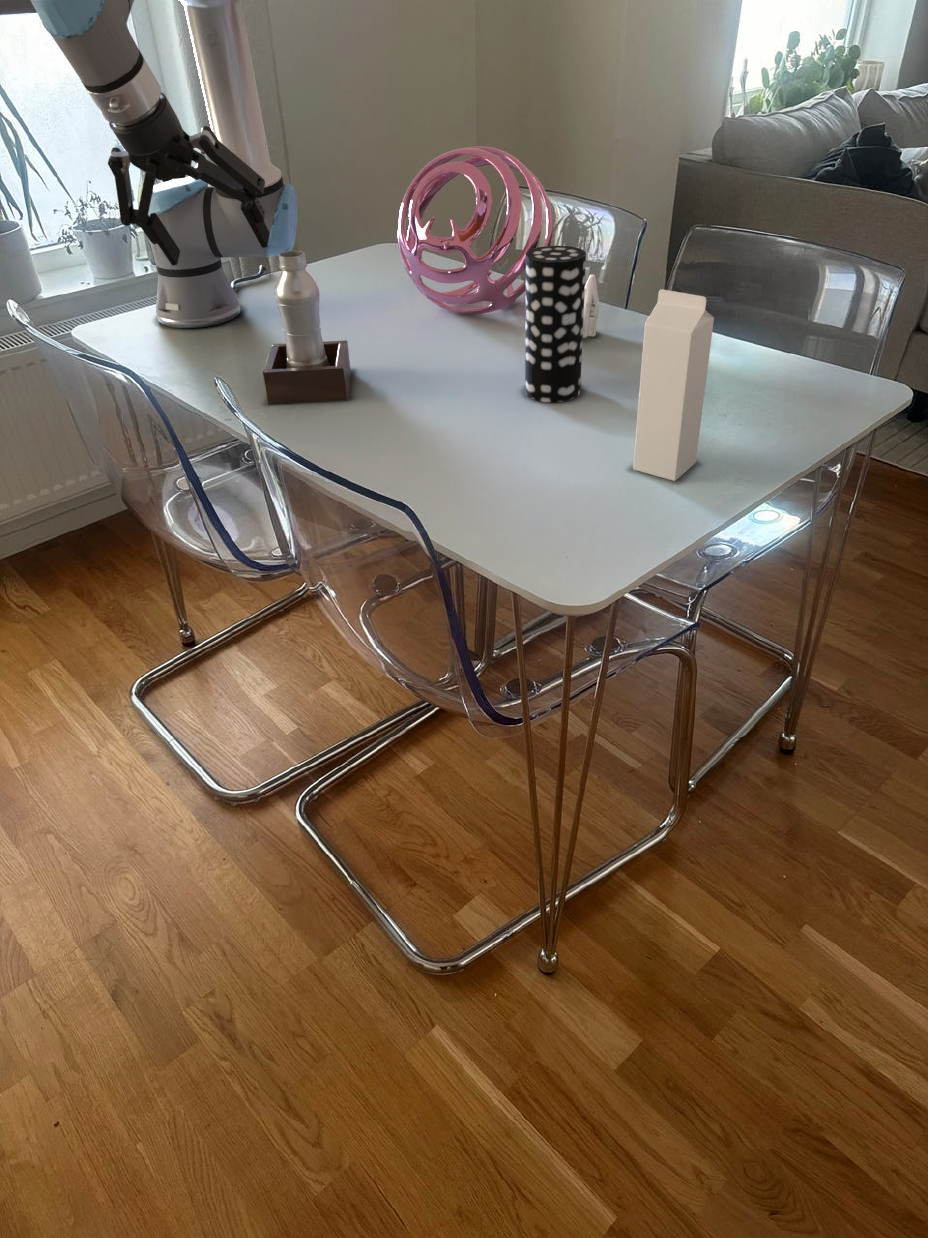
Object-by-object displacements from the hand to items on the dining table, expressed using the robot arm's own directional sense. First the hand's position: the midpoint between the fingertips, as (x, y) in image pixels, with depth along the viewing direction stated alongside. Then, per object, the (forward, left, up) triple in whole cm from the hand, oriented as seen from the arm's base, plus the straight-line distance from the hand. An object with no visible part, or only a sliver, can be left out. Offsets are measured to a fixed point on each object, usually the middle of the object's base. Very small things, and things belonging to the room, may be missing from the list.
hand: (220, 249), depth 126 cm
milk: (+28, +57, -22) cm, 67 cm away
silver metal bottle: (-5, +9, -22) cm, 25 cm away
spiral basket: (-39, +36, -22) cm, 57 cm away
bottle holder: (-5, +9, -22) cm, 24 cm away
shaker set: (-19, +52, -22) cm, 60 cm away
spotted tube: (+2, +46, -22) cm, 51 cm away
